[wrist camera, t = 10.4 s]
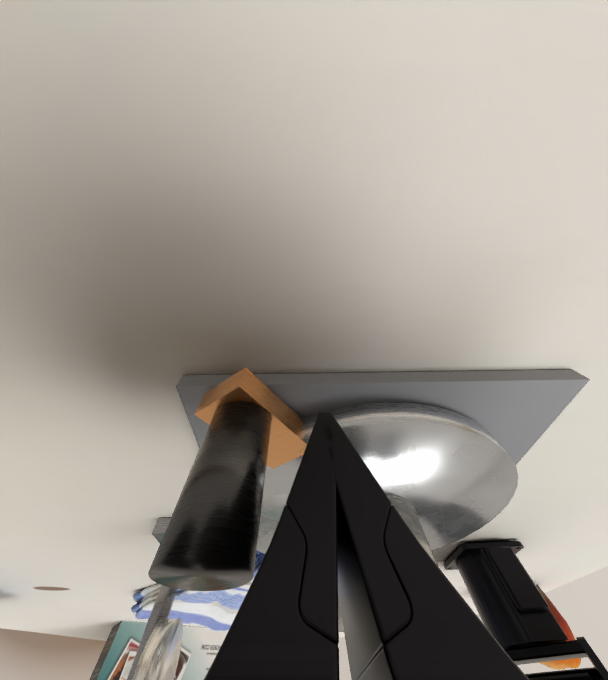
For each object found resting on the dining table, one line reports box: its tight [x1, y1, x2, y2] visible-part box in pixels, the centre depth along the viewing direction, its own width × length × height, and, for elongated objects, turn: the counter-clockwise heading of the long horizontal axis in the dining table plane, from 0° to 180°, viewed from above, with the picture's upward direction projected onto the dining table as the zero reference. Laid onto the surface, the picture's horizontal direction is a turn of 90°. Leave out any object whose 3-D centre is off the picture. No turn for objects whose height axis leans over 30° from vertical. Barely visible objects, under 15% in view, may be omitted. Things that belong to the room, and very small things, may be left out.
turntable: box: [149, 367, 518, 591], centre depth 12 cm, size 22×18×6 cm
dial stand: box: [127, 518, 183, 680], centre depth 15 cm, size 4×4×9 cm
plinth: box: [176, 369, 590, 465], centre depth 15 cm, size 20×20×1 cm
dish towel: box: [131, 550, 265, 631], centre depth 27 cm, size 17×24×3 cm
